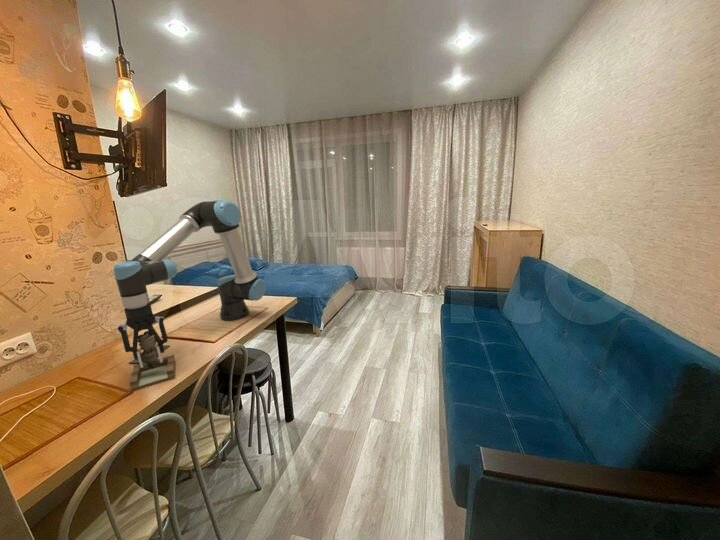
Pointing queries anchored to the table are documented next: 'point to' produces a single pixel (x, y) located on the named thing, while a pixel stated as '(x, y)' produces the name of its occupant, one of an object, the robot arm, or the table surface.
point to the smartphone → (144, 362)
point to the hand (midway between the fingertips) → (152, 363)
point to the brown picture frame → (153, 373)
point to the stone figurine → (148, 349)
